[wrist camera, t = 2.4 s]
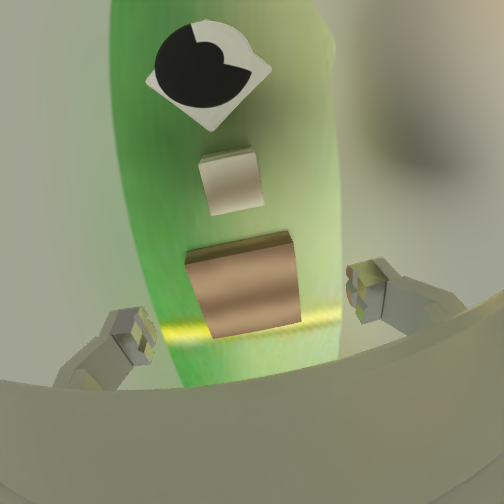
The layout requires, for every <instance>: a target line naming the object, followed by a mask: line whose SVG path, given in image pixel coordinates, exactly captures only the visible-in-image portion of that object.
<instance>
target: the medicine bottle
mask: <svg viewBox="0 0 504 504" xmlns="http://www.w3.org/2000/svg"><path fill="white" fill-rule="evenodd" d="M271 72H272V68H271V66H270V65H268V64H267V63H266V62H265V61H264V60H263V59H261V58H260V57H259V56H258V55H256V54H255V53H254V52H253V51H252V48H251V46H250V44H249V42H248V41H247V39H246V38H245V37H244V35H243V34H242V33H241V32H239V31H238V30H237V29H235V28H233V27H232V26H230V25H227V24H225V23H221V22H216V21H210V20H208V19H204V20H202V21H200V22H195V23H191V24H188V25H186V26H183V27H181V28H180V29H178V30H176V31H175V32H174V33H172V34H171V35H170V36H169V37H168V38H167V39H166V40H165V41H164V43H163V44H162V46H161V47H160V49H159V51H158V53H157V56H156V60H155V69H154V70H153V72H152V73H151V74H150V75H149V76H148V78H147V79H146V84H147V85H148V86H149V87H151V88H152V89H154V90H155V91H156V92H158V93H159V94H161V95H162V96H163V97H165V98H166V99H167V100H169V101H170V102H171V103H173V104H174V105H175V106H177V107H178V108H179V109H181V110H182V111H183V112H185V113H186V114H187V115H189V116H190V117H191V118H193V119H194V120H195V121H196V122H198V123H199V124H200V125H202V126H203V127H204V128H205V129H207V130H208V131H210V132H212V131H214V130H215V129H216V128H217V127H218V126H219V125H220V124H221V123H222V122H223V121H224V119H225V118H226V117H227V116H228V115H229V114H230V113H231V112H232V111H233V110H234V109H235V108H236V107H237V106H238V105H239V104H240V103H241V101H242V100H243V99H244V98H245V97H246V96H247V95H248V94H249V93H250V92H251V91H252V90H253V89H254V88H255V87H256V86H257V85H258V84H260V83H261V82H262V81H263V80H264V79H265V78H266V77H267V76H268V75H269V74H270V73H271Z"/></svg>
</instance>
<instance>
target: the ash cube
mask: <svg viewBox="0 0 504 504" xmlns="http://www.w3.org/2000/svg"><path fill="white" fill-rule="evenodd" d="M198 166H199V170H200V174H201V178H202V182H203V186H204V190H205V194H206V198H207V202H208V206H209V210H210V214H211V216H215V215H220V214H225V213H229V212H234V211H239V210H244V209H248V208H253V207H258V206H263V205H265V204H264V198H263V192H262V187H261V181H260V176H259V170H258V165H257V159H256V154H255V151H254V150H253V149H252V147H251V146H245V147H240V148H235V149H230V150H225V151H221V152H216V153H212V154H208V155H203V156H202V158H201V160H200V162H199V164H198Z"/></svg>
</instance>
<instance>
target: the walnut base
mask: <svg viewBox="0 0 504 504" xmlns="http://www.w3.org/2000/svg"><path fill="white" fill-rule="evenodd" d="M185 268H186V271H187V273H188V276H189V279H190V282H191V284H192V287H193V290H194V292H195V295H196V298H197V300H198V303H199V305H200V308H201V310H202V313H203V315H204V318H205V320H206V323H207V325H208V328H209V330H210V333H211V335H212V338H213V339H215V338H222V337H228V336H233V335H239V334H244V333H250V332H255V331H260V330H265V329H270V328H275V327H280V326H284V325H289V324H294V323H298V322H302V321H301V310H300V299H299V289H298V279H297V270H296V261H295V252H294V244H293V241H292V239H291V237H290V235H289V233H288V231H285V232H280V233H275V234H270V235H265V236H260V237H255V238H250V239H245V240H240V241H236V242H231V243H226V244H221V245H216V246H212V247H207V248H202V249H197V250H193V251H188V252H187V256H186V260H185Z"/></svg>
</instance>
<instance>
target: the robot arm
mask: <svg viewBox="0 0 504 504" xmlns="http://www.w3.org/2000/svg"><path fill="white" fill-rule="evenodd" d="M346 275H347V277H348V278H349V280H348V282H347V283H346V292H347V298H348V300H349V303H350V304H351V306H352V307H355V308H356V315H357V317H358V318H359V320H360V322H361V323H362V324H365V323H369V322H373V321H376V320H380V319H381V320H382V321H384V322H386V323H388V324H389V325H391V326H392V327H394V328H396V329H397V330H399V331H401V332H402V333H404V334H405V335H407V337H404V338H401V339H398V340H396V341H393V342H390V343H387V344H385V345H382V346H379V347H376V348H373V349H370V350H367V351H364V352H361V353H358V354H355V355H351V356H348V357H344V358H341V359H337V360H334V361H330V362H326V363H322V364H319V365H315V366H311V367H306V368H302V369H298V370H293V371H289V372H284V373H279V374H274V375H269V376H264V377H259V378H253V379H247V380H241V381H235V382H228V383H220V384H213V385H204V386H195V387H184V388H172V389H155V390H117V388H118V387H119V385H120V384H121V383H122V381H123V380H124V379H125V378H126V376H127V375H128V374H129V372H130V371H131V370H132V369H133V366H140V365H150V364H151V363H152V358H153V354H154V351H153V350H152V347H153V346H154V345H155V344H156V340H157V335H156V330H155V327H154V325H153V323H152V322H151V321H150V320H148V319H147V316H148V313H147V311H146V310H145V308H144V307H134V308H126V309H119V310H113V311H111V312H109V315H108V317H107V319H106V321H105V323H104V325H103V328H102V330H101V332H100V334H99V336H98V337H95V338H94V339H93V340H91V341H90V342H89V343H88V344H87V345H86V346H85V347H83V349H81V350H80V351H79V352H78V353H77V354H75V356H73V357H72V358H71V359H70V360H69V361H68V362H67V363H65V364H64V365H63V366H62V367H61V368H60V370H59V372H58V375H57V377H56V379H55V382H54V384H53V387H47V386H38V385H31V384H25V383H18V382H12V381H7V380H0V504H504V290H503V291H501V292H499V293H498V294H496V295H494V296H492V297H490V298H489V299H487V300H485V301H483V302H481V303H479V304H478V305H476V306H474V307H472V308H470V309H467V308H466V307H465V306H464V305H463V303H462V302H461V301H460V300H459V299H458V298H457V297H456V296H455V295H454V294H453V293H451V292H448V291H445V290H443V289H439V288H437V287H434V286H431V285H429V284H426V283H423V282H420V281H417V280H414V279H411V278H409V277H406V276H404V277H401V276H400V275H399V274H398V273H397V271H396V270H395V269H394V268H393V267H392V266H391V265H390V264H389V263H388V262H387V261H386V260H385V259H384V258H383V257H381V256H380V257H377V258H373V259H370V260H367V261H364V262H359V263H356V264H351V265H348V266H347V269H346Z"/></svg>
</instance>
